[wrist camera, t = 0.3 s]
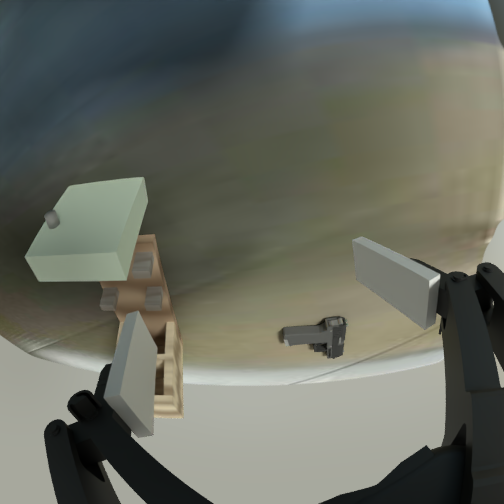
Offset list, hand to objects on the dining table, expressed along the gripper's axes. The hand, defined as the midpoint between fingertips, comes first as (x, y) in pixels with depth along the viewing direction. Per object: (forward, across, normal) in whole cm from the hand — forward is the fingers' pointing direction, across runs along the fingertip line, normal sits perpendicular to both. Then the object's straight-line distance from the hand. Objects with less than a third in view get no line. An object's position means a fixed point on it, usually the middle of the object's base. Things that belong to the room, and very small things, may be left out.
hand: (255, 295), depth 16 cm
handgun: (+29, +13, -30) cm, 44 cm away
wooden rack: (+24, -14, -9) cm, 29 cm away
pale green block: (+16, -10, +8) cm, 21 cm away
